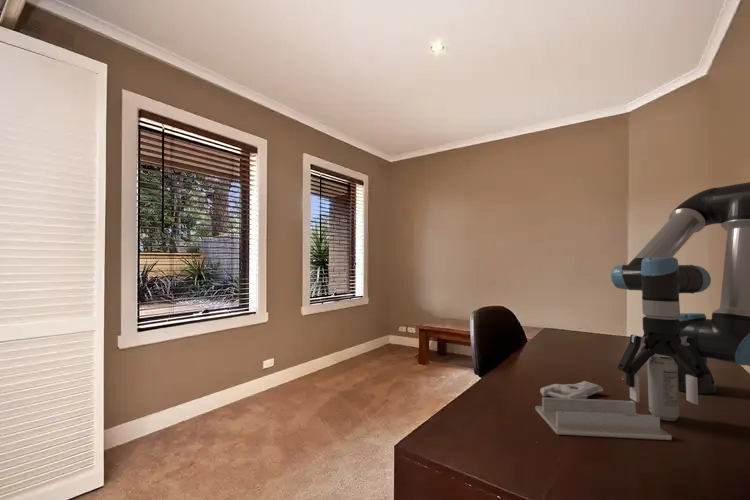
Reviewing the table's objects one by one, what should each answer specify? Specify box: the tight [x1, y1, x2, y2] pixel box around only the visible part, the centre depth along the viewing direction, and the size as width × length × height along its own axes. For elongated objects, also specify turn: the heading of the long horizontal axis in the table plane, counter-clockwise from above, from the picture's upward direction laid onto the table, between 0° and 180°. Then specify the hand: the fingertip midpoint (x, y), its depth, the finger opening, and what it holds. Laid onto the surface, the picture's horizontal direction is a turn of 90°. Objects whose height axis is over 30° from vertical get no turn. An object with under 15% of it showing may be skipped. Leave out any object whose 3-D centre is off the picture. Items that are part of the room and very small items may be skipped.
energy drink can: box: [646, 354, 680, 422], centre depth 90 cm, size 6×6×15 cm
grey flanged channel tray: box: [535, 396, 673, 441], centre depth 86 cm, size 24×14×4 cm, turn 84°
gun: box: [539, 380, 604, 399], centre depth 105 cm, size 18×3×10 cm
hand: (663, 401), depth 90 cm, fingers open, 13 cm apart
